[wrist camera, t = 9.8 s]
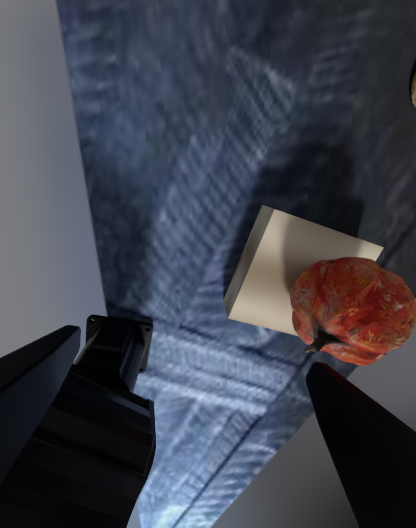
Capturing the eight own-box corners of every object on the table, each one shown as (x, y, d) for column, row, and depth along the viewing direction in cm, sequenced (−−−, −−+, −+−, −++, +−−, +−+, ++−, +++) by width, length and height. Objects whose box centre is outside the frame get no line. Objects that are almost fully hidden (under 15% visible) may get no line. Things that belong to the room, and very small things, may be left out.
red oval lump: (335, 228, 19) (268, 264, 14) (450, 255, 14) (422, 328, 9) (316, 296, 23) (256, 347, 17) (404, 337, 18) (361, 427, 12)
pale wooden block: (304, 318, 25) (324, 342, 21) (222, 296, 23) (228, 318, 19) (351, 236, 22) (383, 247, 18) (259, 203, 20) (274, 208, 16)
